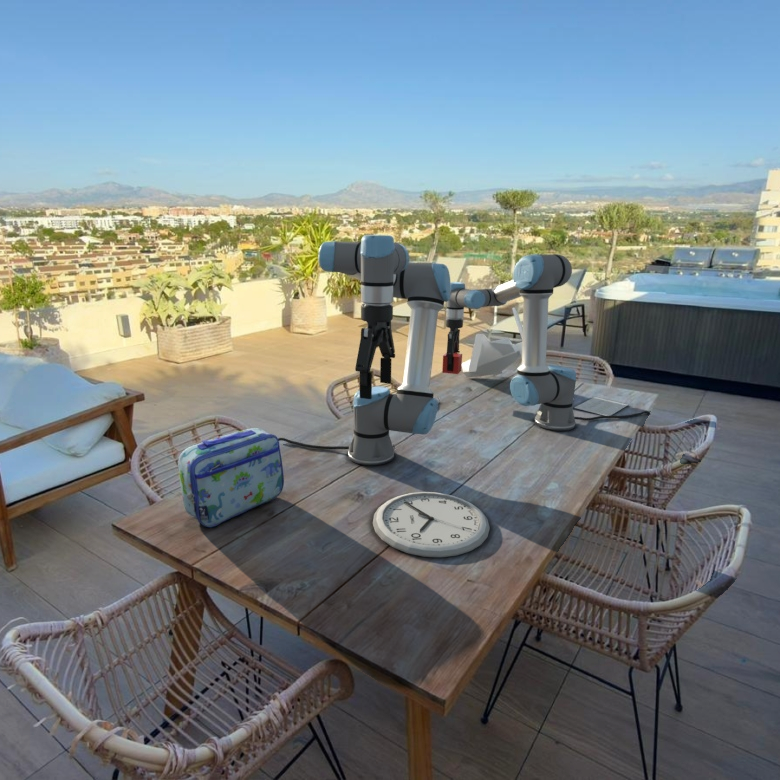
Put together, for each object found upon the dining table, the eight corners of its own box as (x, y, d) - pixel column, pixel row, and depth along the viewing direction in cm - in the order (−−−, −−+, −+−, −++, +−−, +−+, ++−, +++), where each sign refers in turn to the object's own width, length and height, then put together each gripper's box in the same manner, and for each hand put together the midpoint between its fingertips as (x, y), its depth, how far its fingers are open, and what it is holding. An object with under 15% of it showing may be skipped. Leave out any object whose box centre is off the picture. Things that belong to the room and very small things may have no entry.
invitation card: (608, 416, 214) (573, 407, 224) (608, 416, 214) (573, 408, 224) (628, 404, 229) (594, 396, 238) (628, 405, 229) (594, 397, 238)
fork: (425, 410, 217) (425, 406, 216) (435, 399, 231) (435, 395, 231) (431, 411, 216) (431, 407, 215) (441, 400, 230) (441, 396, 230)
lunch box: (198, 536, 127) (190, 457, 121) (179, 518, 135) (170, 443, 128) (288, 499, 145) (285, 429, 139) (267, 486, 152) (263, 418, 146)
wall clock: (504, 548, 122) (376, 553, 119) (504, 554, 122) (376, 559, 120) (474, 487, 150) (370, 490, 148) (473, 492, 151) (370, 495, 148)
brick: (445, 369, 241) (446, 352, 239) (461, 370, 239) (462, 353, 237) (442, 372, 235) (443, 355, 233) (458, 374, 233) (458, 357, 230)
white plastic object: (482, 419, 265) (461, 396, 241) (463, 346, 287) (443, 319, 263) (553, 395, 253) (539, 368, 228) (528, 321, 275) (513, 290, 250)
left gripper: (380, 296, 135) (379, 375, 141) (339, 309, 112) (340, 403, 118) (408, 298, 132) (406, 378, 139) (372, 312, 110) (371, 407, 116)
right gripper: (451, 314, 240) (449, 363, 247) (440, 321, 222) (438, 373, 229) (467, 315, 237) (464, 364, 244) (458, 322, 220) (455, 375, 226)
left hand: (376, 390), depth 129 cm, fingers open, 13 cm apart
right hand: (452, 368), depth 236 cm, fingers closed on brick, 7 cm apart
